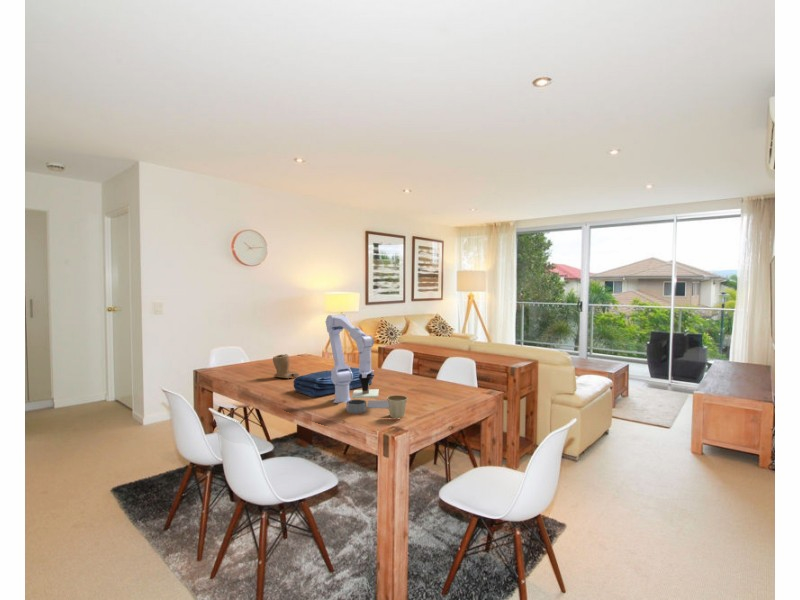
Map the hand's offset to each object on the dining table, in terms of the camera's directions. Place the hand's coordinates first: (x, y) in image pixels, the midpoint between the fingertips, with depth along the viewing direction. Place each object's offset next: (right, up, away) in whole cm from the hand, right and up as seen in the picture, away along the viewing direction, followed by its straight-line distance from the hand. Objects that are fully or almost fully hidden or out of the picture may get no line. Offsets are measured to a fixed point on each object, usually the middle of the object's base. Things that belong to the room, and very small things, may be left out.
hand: (365, 389), depth 200 cm
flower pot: (+15, -10, -11) cm, 21 cm away
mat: (+7, -9, +7) cm, 13 cm away
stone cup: (-57, -7, +69) cm, 90 cm away
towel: (-21, -9, +43) cm, 49 cm away
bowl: (-4, -10, -3) cm, 11 cm away
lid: (0, -2, 0) cm, 2 cm away
